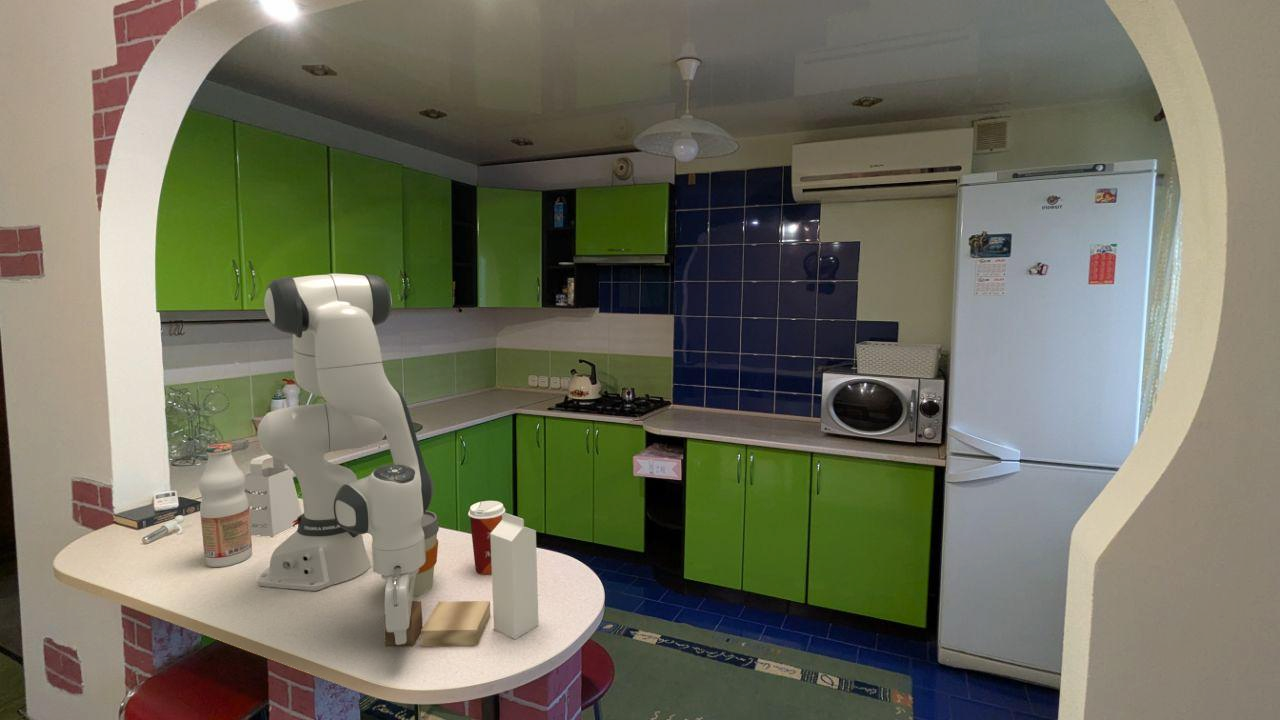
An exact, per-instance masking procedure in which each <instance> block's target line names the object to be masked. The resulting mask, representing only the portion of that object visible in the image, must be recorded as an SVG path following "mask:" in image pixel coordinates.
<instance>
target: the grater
mask: <svg viewBox="0 0 1280 720" xmlns="http://www.w3.org/2000/svg"><path fill="white" fill-rule="evenodd" d="M270 458H271V459H272V463H273V465H272V466H273V467H271V466H269V467H265V468H263V466H262V465H263V462H264V460H267V459H270ZM249 468H250V469H249V472H250V473H247V474H244V475H245V480H246V481H245V486H244V492H245V494H246V495H247V499H248V505H249V518H250V530H251V536H253V535H260V536H259V537H263V536H270V537H269V538H275V537H276V536H275V535H277V534H279V533H281V532H283V531H285V530H287V529H289V528H291V527H293V524H294V523H295V522H294V523H292V522H293V521H295V520H296V519H297V517H299V516H300V515H302V514H303V512H302V508H301V505H300V501H299V497H298V494H297V493H298V492H297V490H296V485H295V481H294V478H293V472H292V470H291V469H290V468H286V464H285V463H283V462H282V461H280V460H279V459H277V458H274V457H272V456H270V455H269V454H267V453H266V454H263V455H260V456H257V457H255V458H252V459H251V461H250V462H249ZM258 525H259V526H265V525H266V526H265V527H259V526H258ZM256 526H257V527H256ZM293 528H294V527H293ZM291 529H292V528H291ZM289 530H290V529H289ZM287 531H288V530H287ZM285 532H286V531H285ZM283 533H284V532H283ZM281 534H282V533H281ZM279 535H280V534H279ZM274 536H275V537H274ZM277 536H278V535H277Z"/></svg>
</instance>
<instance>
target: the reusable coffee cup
mask: <svg viewBox="0 0 1280 720" xmlns="http://www.w3.org/2000/svg"><path fill="white" fill-rule="evenodd" d="M422 529H423V531H424V537H425V555H426V561H425V563H424V565H423V566H421V567H420V568H419V572H418V573H417V574H416V577H415V584H414V592H413V597H415V596H419V595H421V594H424V593H426V592H428V591H429V590H430V589H431V588H432V587H433V585H434V573H435V566H436V565H437V562H438V551H439V550H438V548H439V540H438V538H437V537H438V532H439V530H440V527H439V520H438V516H437V514H436V513H435V512H433V511H430V510H426V511H425V512H424V513H423V518H422Z"/></svg>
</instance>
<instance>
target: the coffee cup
mask: <svg viewBox="0 0 1280 720" xmlns="http://www.w3.org/2000/svg"><path fill="white" fill-rule="evenodd" d="M503 512H504V513H506V508H505V507H504V504H503V503H502V502H500V501H497V500H485V501H479V502H476V503H474V504H472V505H470V508H469V510H468V513H467V515H468V516H469V521H470V531H471V540H472V550H473V559H474V560H473V561H474V568H475V569H474V570H475V572H476V573H477V574H478V575H483V576H489V575H491V576H492V565H491V538H490V533H491V532H492V531H493V530H494V529H495V527H496V526H497V525H498V524H499V523H500V522H501V521H502V513H503Z"/></svg>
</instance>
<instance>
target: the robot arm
mask: <svg viewBox="0 0 1280 720" xmlns="http://www.w3.org/2000/svg"><path fill="white" fill-rule="evenodd" d="M264 295H265V296H264V302H263V303H264V304H263V305H264V307H263V308H264V310H265V314H266V316H267V318H268V319H269V321H270V323H271V325H272V326H273V327H274V328H275V329H277V330H278V331H280V332H282V333H287V334H290V335H292V351H293V353H292V354H293V368H294V369H293V371H294V380H295V382H296V383H297V385H298V386H299V387H300V388H301V389H303V391H306V392H308V393H310V394H312V395H314V396H315V395H316V396H318V397H319V396H320V397H321V398H323V399H324V400H325V402H324V403H314V404H312V403H311V404H304V405H303V404H302V405H301V404H300V405H295V406H294V405H291V406H288V407H284V408H283V407H282V408H280V409H276V410H272V411H270V412H267V413H266V414H265V415H264V416H263V417H262V419H261V420H260V422H259V424H258V426H257V432H256V433H257V434H256V435H257V441H258V443H259V446H260V448H261V449H262V450H263V451H264V452H265V453H266V455H267V454H269V455H270V456H272V457H271V458H273V457H274V458H277V459H279V460H280V461H282V462H283V463H284V464H285V466H287V467H288V469H291V472H292V473H293V474H294V475H295V477H296V478H297V480H298V483H299V486H300V490H301V497H302V505H303V513H302V515H300V516H299V517H297V519H296V520H295V521H293V522H292V523H294V522H295V523H294V524H293V528H295V527H296V526H295V525H297V524H298V526H297V530H296V531H295V532H294V533H292V534H291V535H290V536H289V537H288V538H286V539H285V540H284V541H283V542H281V544H279V545H278V546H277V547H276V548H275V549H274V551H273V552H272V553H271V556H270V560H269V561H270V562H269V566H268V567H267V568H266V569H265V570H264V571H262V573H261V574H260V575H259V577H258V579H257V580H258V581H257V585H258V586H260V587H271V588H280V589H289V590H302V591H311V592H313V591H320V590H323V589H325V588H327V587H330V586H332V585H336V584H339V583H340V584H341V583H343V582H346V581H349V580H352V579H354V578H356V577H358V576H360V575H362V574H363V573H364V572H366V571H367V570H368V569H369V568H370V566H371V561H370V558H369V556H368V554H367V550H366V547H365V543H364V539H363V535H366V534H370V535H371V538H372V540H371V550H372V551H371V553H372V555H371V556H372V570H373V572H375V573H376V574H377V575H381V576H380V577H381V578H382V580H384V581H385V588H384V614H385V626H386V630H387V632H394V635H395V643H396V644H397V645H400V644H405V643H406V641H407V630H406V629H408V627H409V622H410V615H411V607H412V601H413V598H414V596H413V592H414V584H415V577H416V574H417V573H418V572H419V568H420V567H421V566H423V565H424V563H425V561H426V555H425V537H424V531H423V529H422V518H423V513H424V512H425V511H428V508H429V506H430V504H431V503H432V500H433V497H434V494H435V485H434V482H433V479H432V477H431V475H430V473H429V470H428V468H427V466H426V464H425V462H424V458H423V455H422V452H421V449H420V445H419V440H418V438H417V434H416V431H415V428H414V424H413V421H412V418H411V414H410V411H409V410H410V409H409V408H408V405H407V402H406V400H405V398H404V395H403V393H402V392H401V391H400V390H399V389H397V388H395V387H393V386H392V384H391V383H390V381H389V379H388V378H387V375H386V372H385V370H384V366H383V365H384V364H383V356H382V352H381V346H380V342H379V339H378V338H379V337H378V334H377V331H376V327H375V326H378V325H381V324H384V323H385V322H386V321H387V320H388V318H389V317H390V315H391V311H392V305H393V302H392V301H393V300H392V294H391V291H390V288H389V285H388V284H387V282H386V281H385V280H384V279H383V277H380V276H378V275H374V274H369V273H368V274H367V273H363V274H361V275H360V274H352V273H351V274H350V273H349V274H348V273H328V274H315V275H307V276H297V277H292V276H284V277H280V278H276V279H273V280H272V281H270V283H269V284H268V285H267V288H266V292H265V294H264ZM384 437H386V441H387V443H388V448H389V450H390V454H391V458H392V461H393V464H386V465H382V466H379V467H378V468H376V469H373V471H372V472H371V473H370V474H369V475H368V476H365V477H363V478H359V479H358V477H357V476H356V474H355V472H353V470H352V469H350V468H348V467H346V466H343V465H340V464H336V463H332V462H329V461H328V460H327V459H326V458H325V455H326V454H328V453H330V452H331V453H332V452H338V451H339V452H340V451H347V450H352V449H360V448H365V447H366V446H370V445H373V444H376V443H379V442H382V440H383V439H384ZM294 526H295V527H294Z"/></svg>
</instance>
